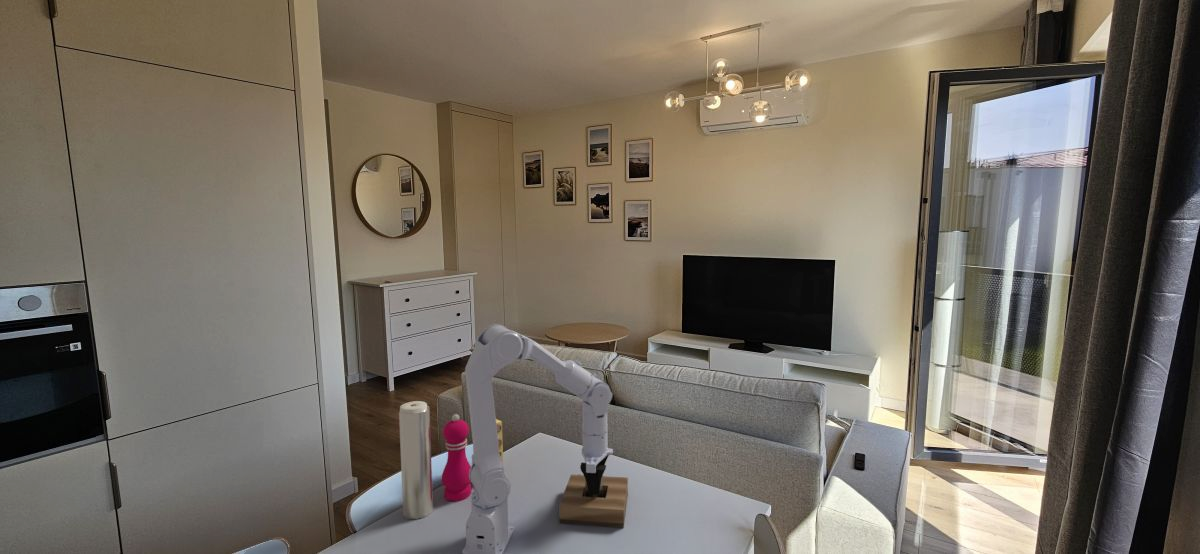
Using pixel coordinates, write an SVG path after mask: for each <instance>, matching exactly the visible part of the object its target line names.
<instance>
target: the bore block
mask: <svg viewBox="0 0 1200 554" xmlns="http://www.w3.org/2000/svg"><path fill="white" fill-rule="evenodd" d="M602 482H603V498H598V497H586V492H585V477H584V475H583V474H570V476H569V478H568V481H567V484H566V486H565V489H564V492H563V495H562V498H561V500H560V503H559V506H558V507H559V510H558V512H559V513H558V514H559V515H558V516H559V518H558V519H559V520H558V521H559V523H558V524H562V525H574V526H588V527H589V526H592V527H604V528H605V527H606V528H619V529H620V528H621V529H624V528H625V520H626V511H627V506H628V505H627V504H628V496H629V485H628V484H629V478H628V477H624V476H623V477H622V476H621V477H620V476H607V475H605V476H604V475H603V477H602Z"/></svg>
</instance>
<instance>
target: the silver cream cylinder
mask: <svg viewBox="0 0 1200 554" xmlns="http://www.w3.org/2000/svg"><path fill="white" fill-rule="evenodd" d="M430 413H431V411H430V405H428V404H427V402H425V401H421V400H420V401H419V400H414V401H409V402H406V403H403V404H401V405H400V406H399V412H398V416H399V417H398V418H399V443H400V445H399V446H400V467H401V469H400V470H401V471H400V472H401V492H402V493H401V494H402V495H401V496H402V516H403V517H404V518H405V519H407V520H418V519H419V518H420V519H423V518H426V517H427V516H429V515H430V514H431V513H432V512H433V511H434V500H433V498H434V497H433V475H432V473H433V472H432V445H431V444H432V443H431V417H430V416H431V415H430ZM420 519H419V520H420Z"/></svg>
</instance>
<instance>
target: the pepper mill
mask: <svg viewBox="0 0 1200 554" xmlns="http://www.w3.org/2000/svg"><path fill="white" fill-rule="evenodd" d="M469 428H470V427H469V425H468V424H467V422H466V421H465V420H463V419H460V415H459V414H458V413H455V414H453V415H452V416H451V420H450V421H448V422H447V423H446V424H445V425H444V427H443V430H442V435H443V438H444V439H445V448H446V449H447V459H446V464H445V466H444V468H443V471H442V474H441V483H442V485H443V486H444V490H443V491H444V492H443V493H444V495H443V496H444V498H445V500H447V501H450V502H459V501H462V500H466V499H467V498H468V497H470V496H471V495H472V483H471V481H470V479H469V471H470V468H471V466H472V465H471V464H470V463H469V461H468V457H467V454H466V453H467V452H466V447H467V446H468V439H467V437H468V435H469V433H470V429H469Z"/></svg>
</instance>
